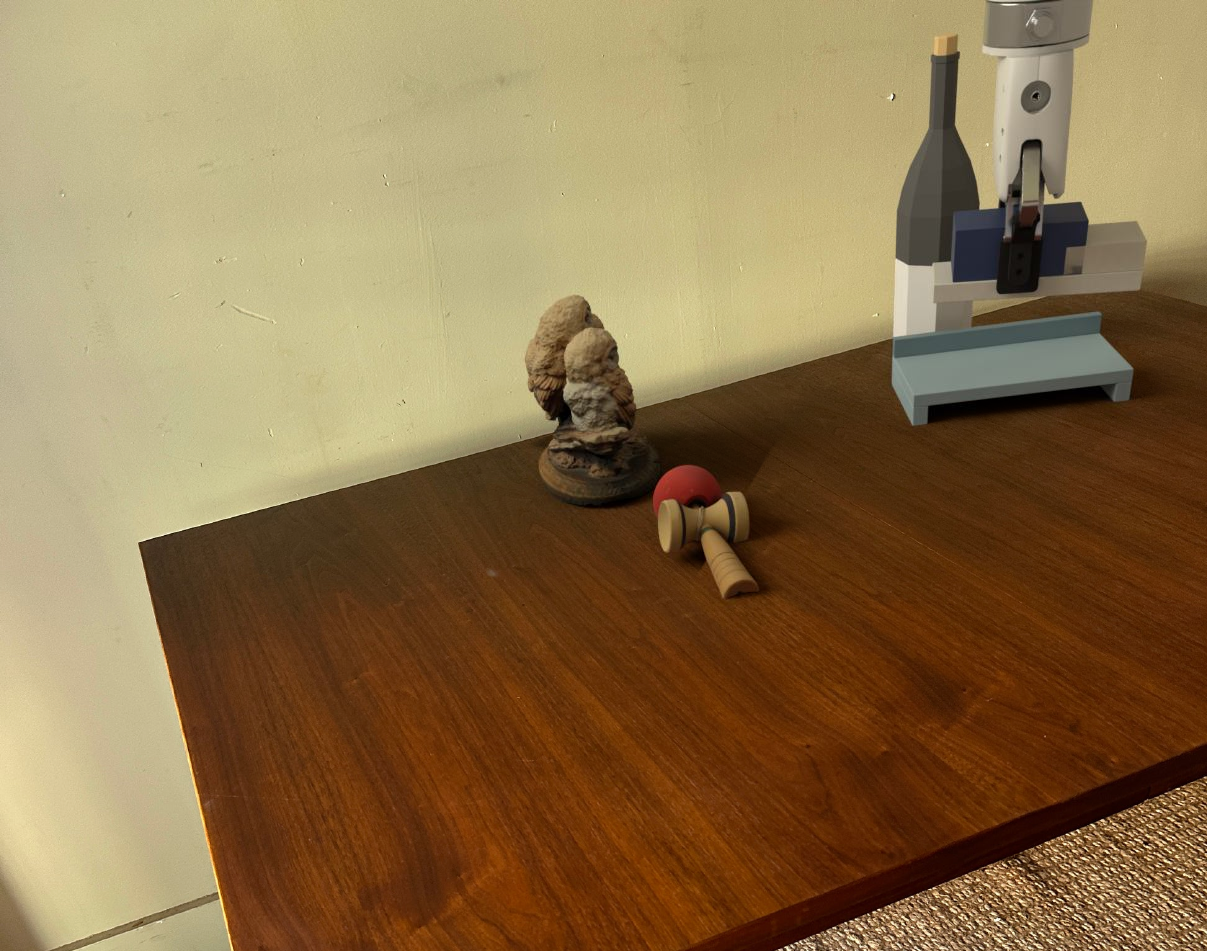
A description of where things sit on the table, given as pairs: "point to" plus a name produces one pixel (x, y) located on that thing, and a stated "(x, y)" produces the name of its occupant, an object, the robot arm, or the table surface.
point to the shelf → (1006, 362)
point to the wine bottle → (933, 206)
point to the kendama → (704, 523)
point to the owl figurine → (587, 410)
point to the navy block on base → (1042, 255)
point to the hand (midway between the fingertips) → (1013, 276)
